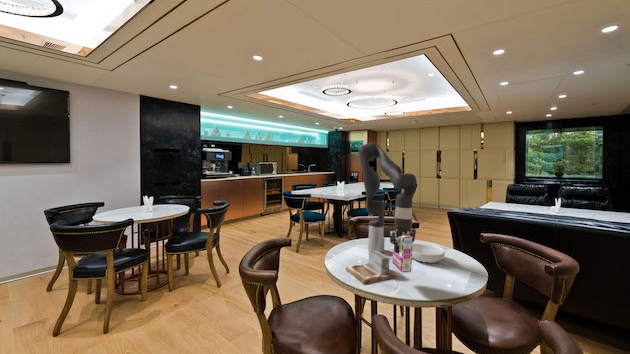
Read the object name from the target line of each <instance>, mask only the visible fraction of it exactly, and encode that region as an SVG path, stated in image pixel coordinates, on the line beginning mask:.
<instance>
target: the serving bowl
mask: <svg viewBox="0 0 630 354" xmlns="http://www.w3.org/2000/svg"><path fill="white" fill-rule="evenodd" d="M445 253H446V251H445V249H444V248H441V247H439V246H437V245H433V244H428V243H413V245H412V259H414V260H415V261H419V262H421V261H422V263H426V262H428V264H429V263H430V264H431V263H437V262H440V261H442V260H443V258H444V257H445Z"/></svg>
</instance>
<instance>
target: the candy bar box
mask: <svg viewBox="0 0 630 354" xmlns="http://www.w3.org/2000/svg"><path fill="white" fill-rule="evenodd" d="M395 235H396V234H395ZM397 238H398V239H399V238H400V241H399V253H395V251H394V244H392V264H393V265H394V266H395V268H397V269H398V270H399V272H401V273H411V272H412V263H413V262H412V260H413V258H412V245H413V244H414V242H413V237H412V236H410V233H409V234H404V235H400V236H399V237H398V236H397ZM397 241H398V240H397Z"/></svg>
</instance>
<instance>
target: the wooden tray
mask: <svg viewBox="0 0 630 354" xmlns="http://www.w3.org/2000/svg"><path fill="white" fill-rule="evenodd" d="M345 271H346V272H348V273H349V274H350V275H352V277H354V278H355V279H356V280H358V281H359V282H360V283H361V284H362V285H367V284H371V283H376V282H381V281H385V280H389V279H395V278H397V277H398V274H397V273H395V272H394V271H392V270H391V269H390V257H389V256H387V255H385V254H383V253H380V252H378V251H371V252H369V251H368V263H359V264H354V265H348V266H347V267H345Z"/></svg>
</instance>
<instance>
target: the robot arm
mask: <svg viewBox="0 0 630 354" xmlns="http://www.w3.org/2000/svg"><path fill="white" fill-rule="evenodd" d="M357 151H358V156H359V161H360V165H361V170H362V177H363V185H364V191H365V196H366V197H365V199H366V211H367V213H368V215H372V216H378V217H375V218H373V219H371V220H369V221H368V243H367V244H368V253H369V252H371V251H378V252H380V253H382V254H383V253H385V239H386V238H385V237H384V230H385V229H384V226H385V224H384V222H385V221H384V220H385V209H386V204H385V202H384V201H381V200H374V199H373V198H374V196H375V195H376V194H377V193H378V191H379V190H380V187H381V181H380V180H381V179H380V176H379V174H378V173H377V172H376V171H375V170H373V169H372V167H370V164H369V162H370V161H372V160H375V159H377V158H378V159H379V162H380V163H379V165H380V166H379V167H380V170H381V171H382V172H383V174H384V175H386V176H387V177H388V178H389V180H390V182H391V184H392V186H393V187H394V188H396V189H398V190H402V192H401V193H398V194H397V195H396V197H395V208H394V227H395V228H394V230H389V241H390V243H389V244H392V245H393V244H394V251H395V253H399V241H400V238H399V239H398V238H397V236H398V237H399V236H400V235H404V234H409V235H410V236H412V237H413V243H414V242H415V239H416V234H417V233H416V231H417V229H415V228H412V225H413V197H414V194H415V191H416V188H417V185H418V184H417V183H418V181H417V178H416V176H415V174H413V173H407V172H406V173H403V169H402V168H401V166H399V165H398V164H397V163H395V161H393V160H392V159H391V158H390V157H389V156H388V155H387V154H386V152H385V151H384V150H383V149H382V148H381V146H380V145H379V144H378V143H377V142H376V141H375V142H374V141H370V142H368V143H365V144H363V145H361V146H359V147H358V150H357ZM395 234H396V235H395ZM397 240H398V241H397Z"/></svg>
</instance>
